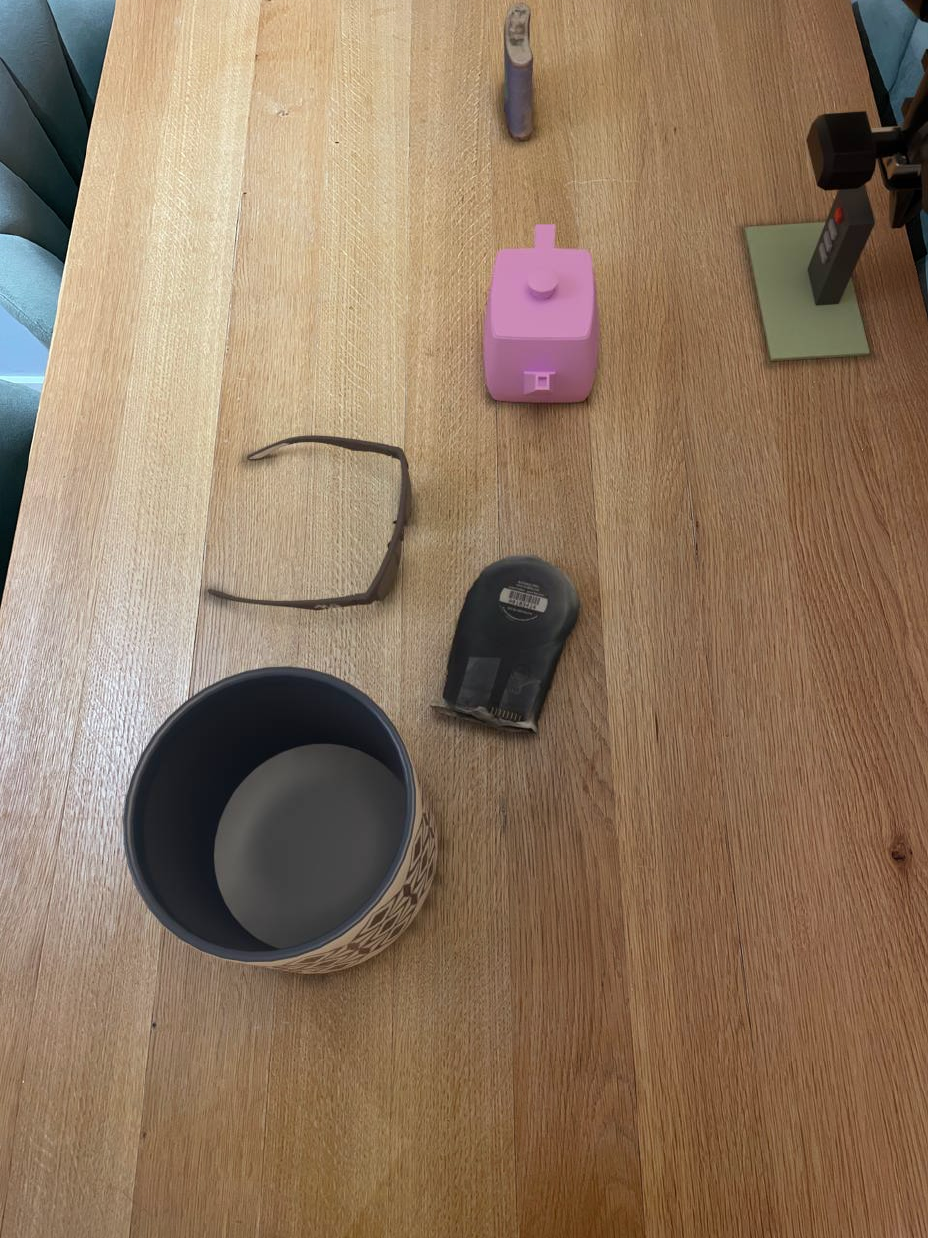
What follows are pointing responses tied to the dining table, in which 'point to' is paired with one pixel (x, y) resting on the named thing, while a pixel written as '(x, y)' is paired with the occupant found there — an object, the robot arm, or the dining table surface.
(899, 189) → the robot arm
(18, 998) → the dining table surface
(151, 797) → the planter
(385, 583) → the sunglasses
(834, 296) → the dark grey rectangular prism
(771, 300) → the mat
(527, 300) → the teapot
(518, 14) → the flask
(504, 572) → the electronic device
